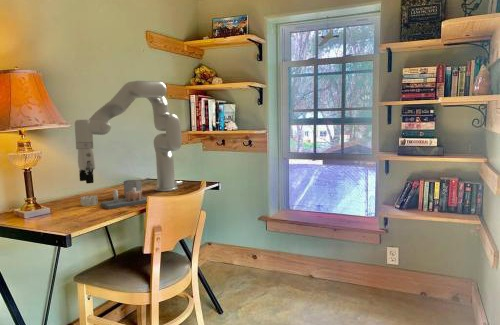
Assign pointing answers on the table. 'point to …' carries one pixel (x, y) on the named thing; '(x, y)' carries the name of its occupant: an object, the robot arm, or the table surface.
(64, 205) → the table surface
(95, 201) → the gear
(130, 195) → the gear board
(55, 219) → the table surface
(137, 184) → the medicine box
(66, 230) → the table surface
